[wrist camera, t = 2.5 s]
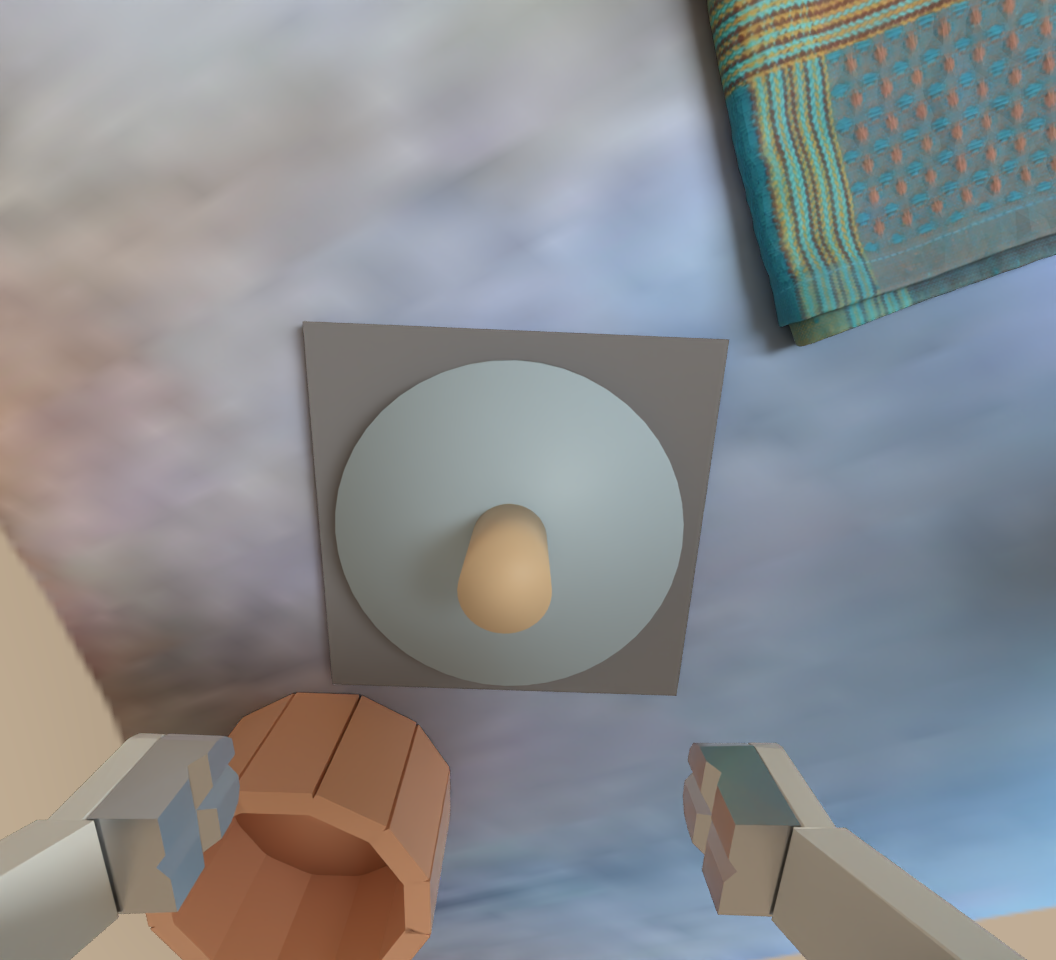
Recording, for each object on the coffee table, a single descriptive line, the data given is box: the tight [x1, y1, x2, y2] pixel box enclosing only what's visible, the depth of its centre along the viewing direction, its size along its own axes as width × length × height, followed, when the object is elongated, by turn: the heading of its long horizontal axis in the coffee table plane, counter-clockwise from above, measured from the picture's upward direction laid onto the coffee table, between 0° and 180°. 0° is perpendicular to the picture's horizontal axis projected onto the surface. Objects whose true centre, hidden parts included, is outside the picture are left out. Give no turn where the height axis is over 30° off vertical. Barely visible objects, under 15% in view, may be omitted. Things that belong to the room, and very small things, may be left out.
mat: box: [303, 321, 729, 696], centre depth 19 cm, size 15×15×1 cm
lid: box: [335, 360, 684, 686], centre depth 17 cm, size 13×13×5 cm
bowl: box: [146, 692, 450, 960], centre depth 21 cm, size 11×11×5 cm
